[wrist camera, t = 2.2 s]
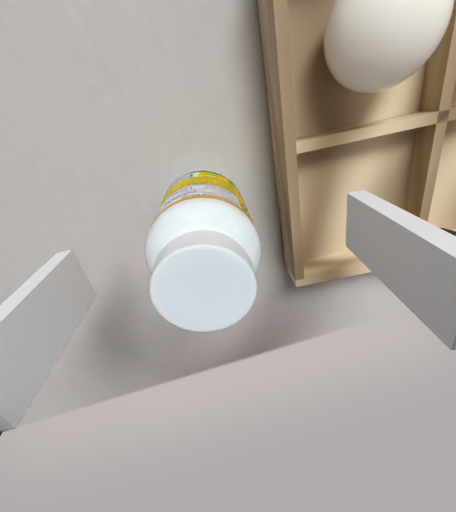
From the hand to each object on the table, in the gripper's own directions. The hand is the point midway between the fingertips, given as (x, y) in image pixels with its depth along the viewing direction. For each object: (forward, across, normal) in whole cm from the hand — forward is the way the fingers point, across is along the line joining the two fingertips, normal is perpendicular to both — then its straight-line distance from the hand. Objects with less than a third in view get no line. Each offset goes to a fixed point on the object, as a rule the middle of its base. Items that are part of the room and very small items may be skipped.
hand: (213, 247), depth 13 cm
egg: (+6, +9, +7) cm, 13 cm away
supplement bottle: (+6, -1, 0) cm, 6 cm away
